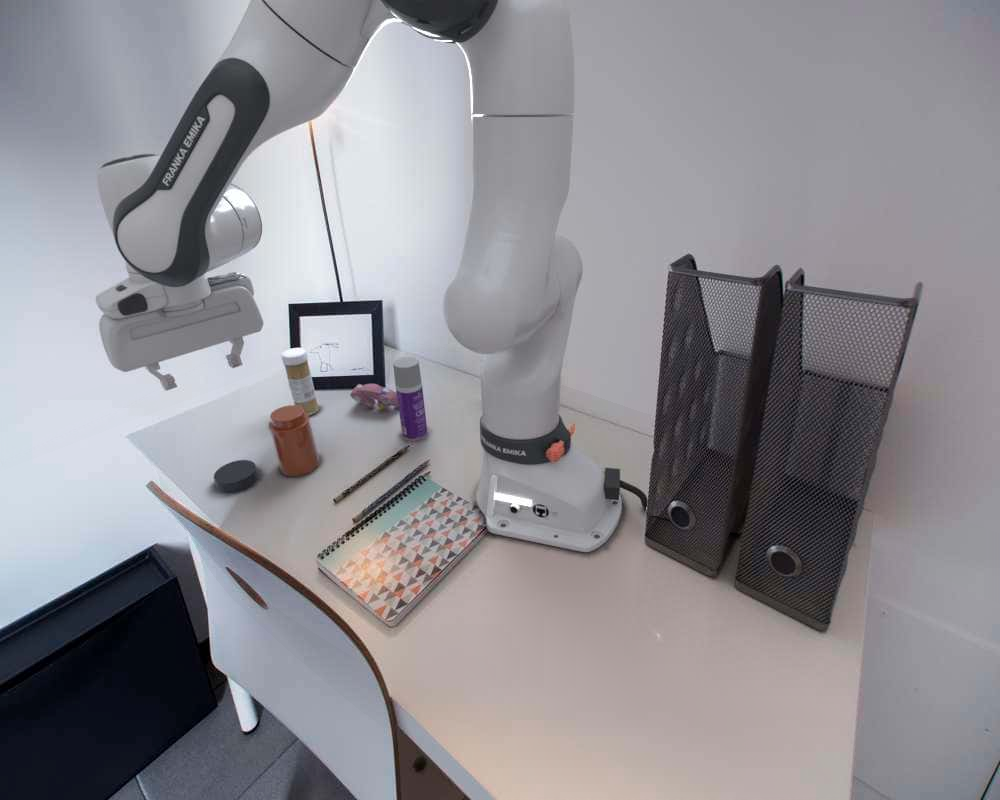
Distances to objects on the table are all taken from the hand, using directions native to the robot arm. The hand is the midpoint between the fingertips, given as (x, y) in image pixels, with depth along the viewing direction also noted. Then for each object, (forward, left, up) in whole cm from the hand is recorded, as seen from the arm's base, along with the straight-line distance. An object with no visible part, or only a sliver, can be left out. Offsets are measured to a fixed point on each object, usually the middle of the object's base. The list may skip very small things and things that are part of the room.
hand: (204, 376), depth 79 cm
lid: (0, 0, -18) cm, 18 cm away
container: (-18, -25, -20) cm, 36 cm away
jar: (-6, -8, -20) cm, 22 cm away
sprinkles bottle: (+7, -22, -20) cm, 30 cm away
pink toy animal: (-5, -30, -20) cm, 36 cm away
